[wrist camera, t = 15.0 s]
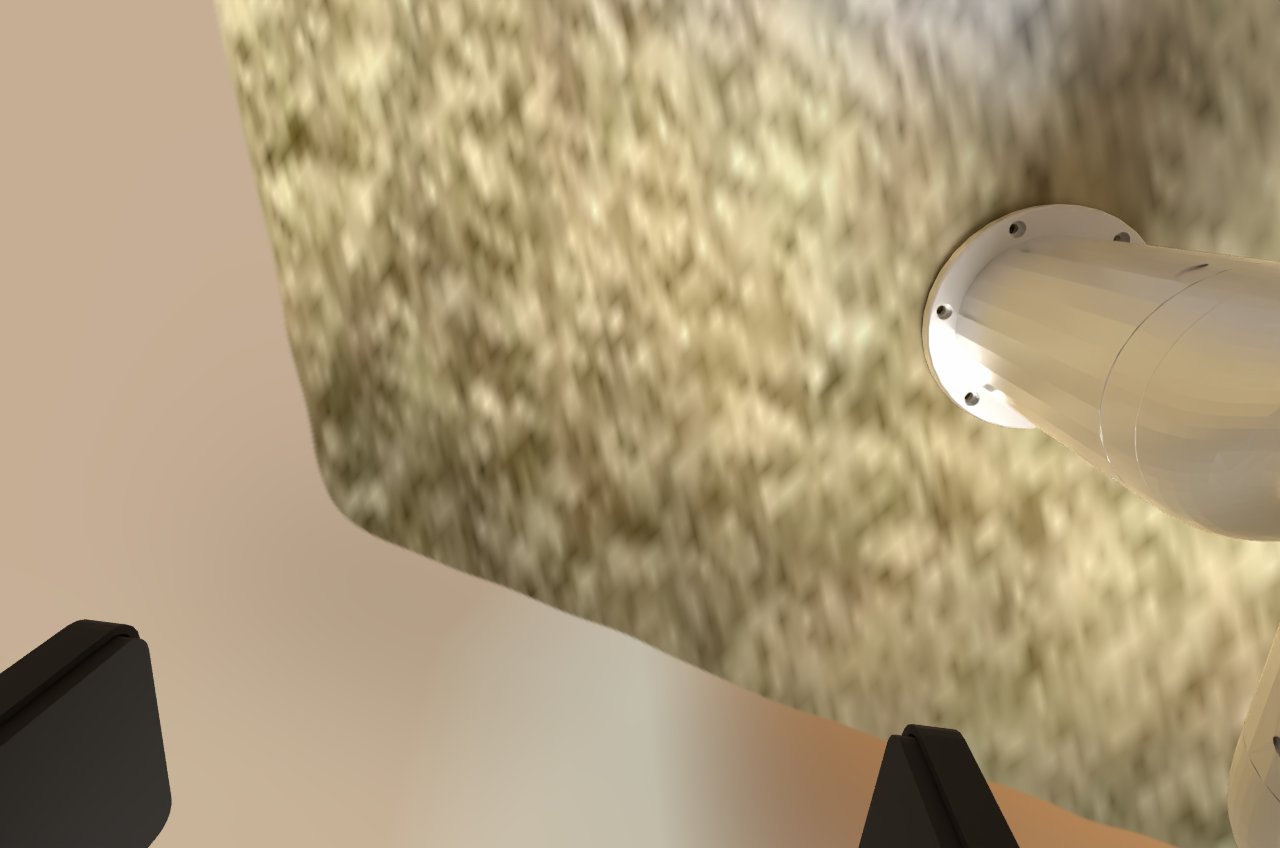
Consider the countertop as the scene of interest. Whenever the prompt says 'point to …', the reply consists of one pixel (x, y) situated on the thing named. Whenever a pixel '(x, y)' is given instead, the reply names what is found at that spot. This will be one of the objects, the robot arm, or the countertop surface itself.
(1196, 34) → the countertop surface
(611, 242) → the countertop surface
